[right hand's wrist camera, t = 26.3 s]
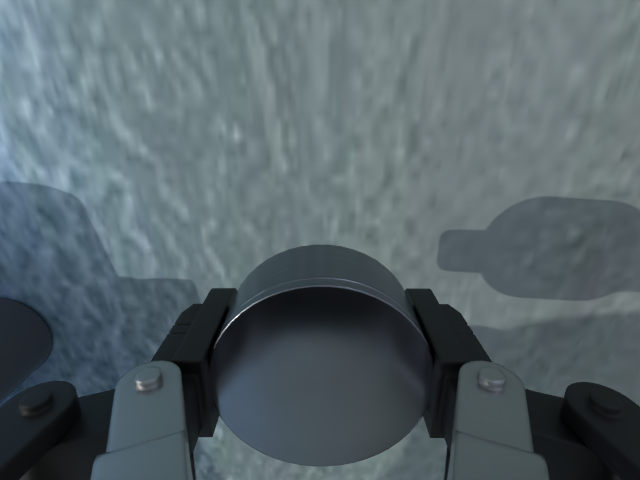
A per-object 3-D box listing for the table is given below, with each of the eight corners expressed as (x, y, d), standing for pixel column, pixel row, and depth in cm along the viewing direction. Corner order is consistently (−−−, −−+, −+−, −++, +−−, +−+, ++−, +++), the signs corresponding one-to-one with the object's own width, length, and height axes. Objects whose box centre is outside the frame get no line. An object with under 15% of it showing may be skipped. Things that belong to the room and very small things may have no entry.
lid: (207, 262, 10) (176, 308, 8) (400, 227, 10) (423, 264, 8) (255, 409, 12) (241, 479, 10) (420, 385, 12) (443, 451, 10)
